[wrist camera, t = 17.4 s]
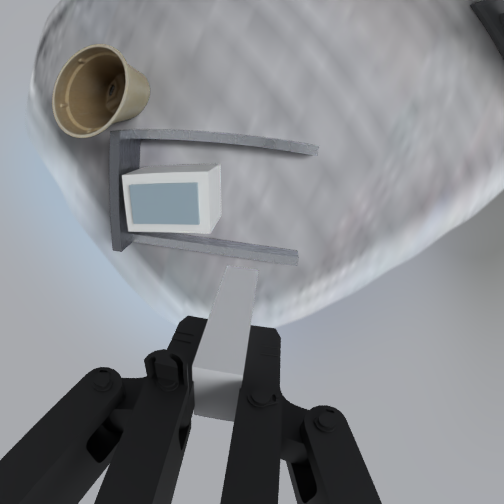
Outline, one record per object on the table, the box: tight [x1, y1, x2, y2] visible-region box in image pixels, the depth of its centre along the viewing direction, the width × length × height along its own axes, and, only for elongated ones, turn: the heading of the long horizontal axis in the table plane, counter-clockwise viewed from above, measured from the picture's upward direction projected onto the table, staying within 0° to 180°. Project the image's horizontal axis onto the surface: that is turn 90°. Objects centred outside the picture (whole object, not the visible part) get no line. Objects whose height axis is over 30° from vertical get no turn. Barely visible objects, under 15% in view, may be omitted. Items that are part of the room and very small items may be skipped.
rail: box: [109, 129, 319, 266], centre depth 30 cm, size 13×21×5 cm, turn 83°
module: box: [122, 164, 222, 233], centre depth 29 cm, size 6×9×6 cm, turn 90°
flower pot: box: [52, 44, 150, 138], centre depth 24 cm, size 9×9×9 cm
